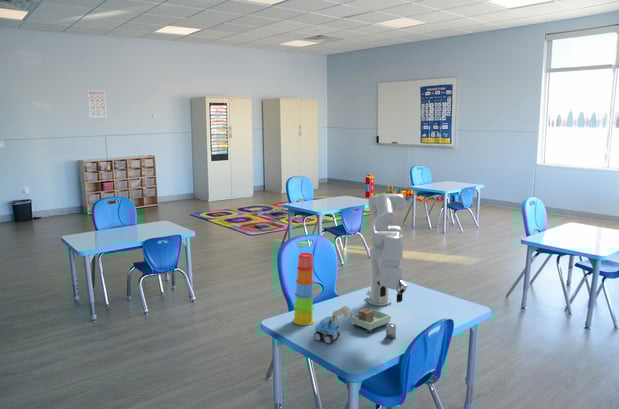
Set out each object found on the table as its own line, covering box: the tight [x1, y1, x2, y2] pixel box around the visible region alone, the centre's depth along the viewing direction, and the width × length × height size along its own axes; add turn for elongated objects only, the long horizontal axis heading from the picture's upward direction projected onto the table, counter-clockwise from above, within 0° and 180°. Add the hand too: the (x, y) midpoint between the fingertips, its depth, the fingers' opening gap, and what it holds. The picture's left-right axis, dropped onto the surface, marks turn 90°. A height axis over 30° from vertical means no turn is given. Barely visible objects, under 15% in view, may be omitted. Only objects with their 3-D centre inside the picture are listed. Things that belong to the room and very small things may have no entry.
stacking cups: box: [292, 252, 315, 326], centre depth 246 cm, size 10×10×35 cm
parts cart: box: [350, 308, 392, 334], centre depth 242 cm, size 12×15×5 cm
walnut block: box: [358, 307, 374, 323], centre depth 240 cm, size 5×5×6 cm
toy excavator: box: [313, 305, 351, 345], centre depth 226 cm, size 9×17×17 cm, turn 58°
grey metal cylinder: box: [385, 322, 397, 341], centre depth 229 cm, size 4×4×6 cm
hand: (391, 298), depth 227 cm, fingers open, 9 cm apart
